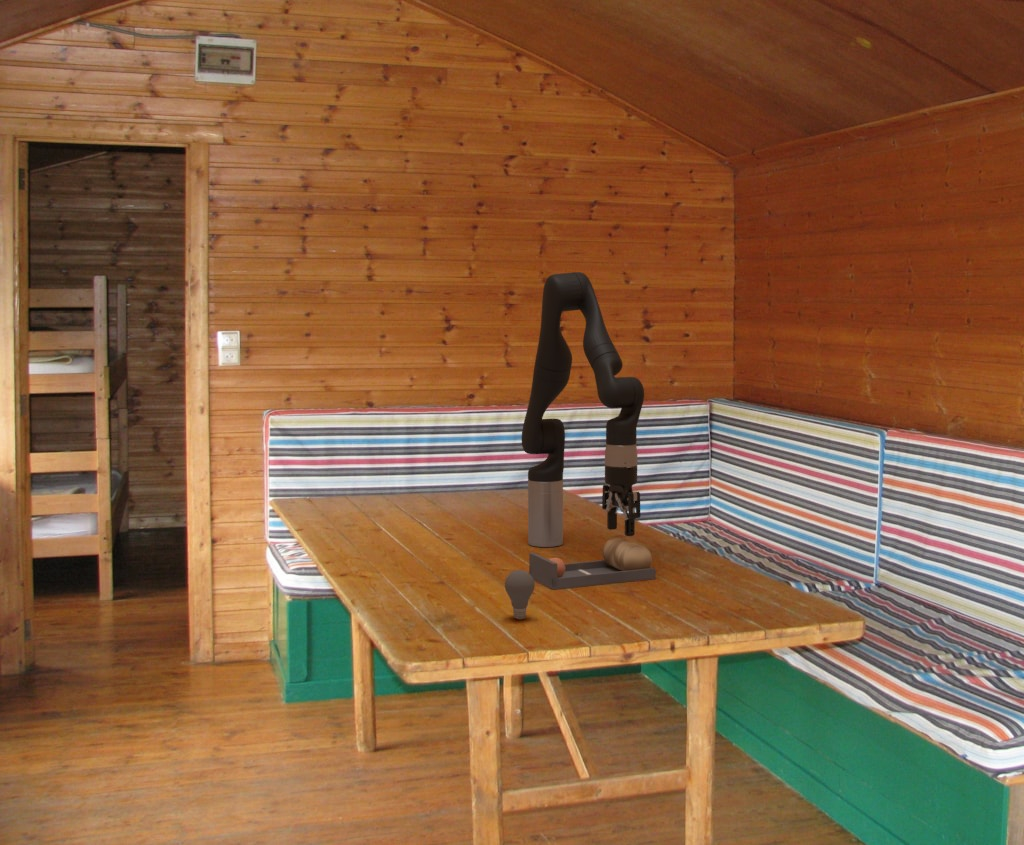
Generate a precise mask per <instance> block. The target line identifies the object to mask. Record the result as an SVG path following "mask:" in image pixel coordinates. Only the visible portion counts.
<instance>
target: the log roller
mask: <svg viewBox="0 0 1024 845" xmlns="http://www.w3.org/2000/svg"><path fill="white" fill-rule="evenodd" d="M601 552H602V554H601V555H602V560H604V561H605V562H606V563H607V564H608V565H610V566H612V567H614V568H617V569H619V570H621V571H628V570H637V569H647V568H651V566H652V562H653V560H652V553H651V551H650V550H649V549H648V548H647V547H645V546H643V545H640V544H637V543H634V542H633V541H630V540H626V539H623V537H616V536H615V537H612V538H609V539H608V540H607V541H606V542H605V543H604V545H603V546H602V551H601Z"/></svg>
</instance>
